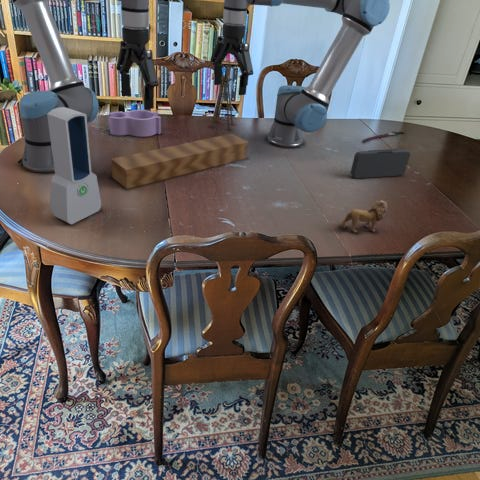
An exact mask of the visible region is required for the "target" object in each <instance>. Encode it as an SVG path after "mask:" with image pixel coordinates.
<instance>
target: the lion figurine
mask: <svg viewBox="0 0 480 480" xmlns="http://www.w3.org/2000/svg"><path fill="white" fill-rule="evenodd" d="M387 211H388V202H386V201H384V200H383V199H381V200H377V201H375V203H374V205H373V206H372V207H371V208H370V209H367V210H364V209H363V210H362V209H359V208H358V209H357V208H353V209H350V211H349V212H347V214H346V215H345V217H344V219H343V220H342V222H341V227H340V228H339V230H340V231H342V230H343V229H345V228H346V223H347V222H350V221H351V225H350V229H351V230H352V232H353V233H355V234H356V233H358V230H357V229H355V227H356V225H357V224H358V222H362V223H365V225H364V226H365V227H366V228H370V231H371V232H372V233H374V232H376V229H375V227H376V225H377V222H380V221H381V220H383V219H384V217H385V216H386V214H387ZM370 223H371V226H370Z"/></svg>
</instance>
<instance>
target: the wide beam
mask: <svg viewBox="0 0 480 480" xmlns="http://www.w3.org/2000/svg"><path fill="white" fill-rule="evenodd" d="M247 153H248V141H247V140H245V139H243V138H241V137H239V136H237V135H235V134H234V133H228V134H222V135H219V136H214V137H209V138H204V139H199V140H195V141H190V142H189V141H188V142H184V143H181V144H176V145H175V144H174V145H171V146H166V147H162V148H157V149H151V150H148V151H147V150H146V151H142V152H137V153H133V154H128V155H124V156H123V155H122V156H120V157H119V156H118V157H113V158H111V176H112V179H113V180H115V181H116V182H117V183H118V184H120V185H121V186H122V187H123V188H125V189H126V190H128V189H133V188H137V187H140V186H144V185H148V184H152V183H155V182H160V181H163V180H167V179H171V178H175V177H179V176H182V175H187V174H191V173H195V172H199V171H203V170H206V169H211V168H214V167H219V166H222V165H225V164H230V163H233V162H238V161H242V160H245V159H247Z"/></svg>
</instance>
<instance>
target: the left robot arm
mask: <svg viewBox="0 0 480 480" xmlns="http://www.w3.org/2000/svg"><path fill="white" fill-rule="evenodd" d="M11 1H12V4H13V6H14V7H15V8H17V9H19V11H21V13H22V15H23V18H24V20H25V23H26V24H27V25H26V26H27V27H28V30H29V33H30V35H31V37H32V40H33V42H34V45H35V47H36V50H37V52H38V55H39V58H40V60H41V62H42V65H43V68H44V70H45V71H46V74H47V77H48V79H49V82H50V85H51V86H50V88H49V90H40V91H39V90H36V91H31V92H29V93H26V94H24V95H23V96H22V97H21V98H20V100H19V103H18V104H19V116H20V119H21V125H22V132H23V137H24V148H23V153H22V157H20V159H18V161H16V162H17V164H18V165H19V164H21V163H22V166H23V168H24V169H25V170H27V171H29V172H33V173H39V174H46V173H55V169H54V162H53V154H52V147H51V139H50V132H49V124H48V117H47V113H49V112H50V111H51V110H53V109H55V108H59V107H65V108H69V109H72V110H75V111H78V112H81V113H84V114H86V116H87V124H89V123H91V122H94V120H95V119H96V118H97V116H98V113H99V110H100V109H99V108H100V106H99V104H100V103H99V99H98V97H97V95H96V93H95V91H93V89H91V88H89V87H86V86H85V84H84V81H83V80H82V79H79V78H78V77H77V75H76V72H75V70H74V67H73V65H72V62H71V59H70V57H69V55H68V51H67V50H66V46H65V44H64V41H63V39H62V37H61V36H62V35H61V34H60V31H59V29H58V26H57V23H56V21H55V17H54V16H53V13H52V11H51V8H50V5H49V2H50V0H11ZM61 1H63V2H72V0H61ZM117 2H120V15H121V16H120V17H121V25H122V28H121V38H122V39H121V40H120V43H119V44H120V48H119V53H118V58H117V63H116V66H115V70H116V71H118V73H119V74H120V88H121V97H122V98H123V97H131V95H132V94H131V71H130V70H131V68H132V65H134V63H135V65H136V66H138V68H139V71H140V74H141V77H142V79H143V82H144V86H143V94H144V95H143V97H144V98H143V99H144V100H143V101H144V103H143V104H144V105H143V107H144V109H143V110H152V109H155V106H154V105H155V101H154V99H155V88H156V87H159V85H160V84H159V79H158V74H157V71H156V66H155V62H154V57H153V55H154V53H153V49H147V48H146V45H147V44H149V42H150V30H149V27H150V7H149V6H150V4H149V3H150V0H117Z"/></svg>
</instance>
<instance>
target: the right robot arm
mask: <svg viewBox="0 0 480 480" xmlns="http://www.w3.org/2000/svg"><path fill="white" fill-rule="evenodd" d="M282 4H283V5H290V6H300V7H309V8H317V9H318V8H319V9H324V11H326V13H327V12H328V13H334V14H337V15H340V16H341V22H342V25H341V27H340V29H339V31H338V32H337V34H336V36H335V38H334V39H333V41H332V43H331V45H330V47H329V49H328V50H327V52H326V54H325V56H324V58H323V59H322V61H321V63H320V64H319V67H318V68H317V70H316V72H315V74H314V75H313V78H312V79H311V81H310V83H309V85H308V86H301V85H288V84H287V85H281V86H280V87H279V88H278V90H277V94H276V102H275V110H274V111H275V112H274V118H273V122H272V124H271V127H270V129H269V131H268V134H267V138H266V140H267V141H268V142H269V143H270V144H271V145H274V146H277V147H281V148H289V149H291V148H298V147H302V146H303V144H304V133H314V132H316V131H319V130H320V129H321V128H322V127H323V126H324V125H325V124H326V121H327V119H328V111H327V108H328V107H329V105H330V100H329V98H330V95H331V94H332V92H333V90H334V89H335V87H336V84H338V82H339V80H340V78H341V76H342V75H343V72H344V71H345V70H346V68H347V65H348V64H349V62H350V60H352V59H351V58H352V57H353V55H354V54H355V52H356V50H357V48H358V46H359V45H360V43H361V41H362V40H363V38H364V37H365V36H368V35H370V34H371V33H372V31H373V29H374V27H376V26H378V25H382V24H383V22H384V21H385V20H386V19H387V18H388V15H389V13H390V8H391V3H390V0H223V13H222V22H223V24H222V30H221V31H222V32H221V35H218V36H217V38H216V44H215V46H214V49H213V52H212V54H211V56H210V59H209V60H210V63H213V75H214V77H213V85H214V86H219V85H220V86H221V85H222V80H221V78H222V77H223V76H222V75H223V68H222V66H221V65H222V64H223V63H222V62H224V60H225V59H226V58H227V56H228V54H229V55H231V56H233V57H234V59H235V60H236V62H237V65H238V68H239V70H240V73H241V74H240V75H239V85H238V96H244V95H247V86H248V85H249V77H250V76H252V75H254V69H253V63H252V57H251V54H250V44H249V43H243V39H244V38H245V36H246V23H247V11H248V5H249V6H266V7H279V6H281V5H282Z"/></svg>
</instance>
